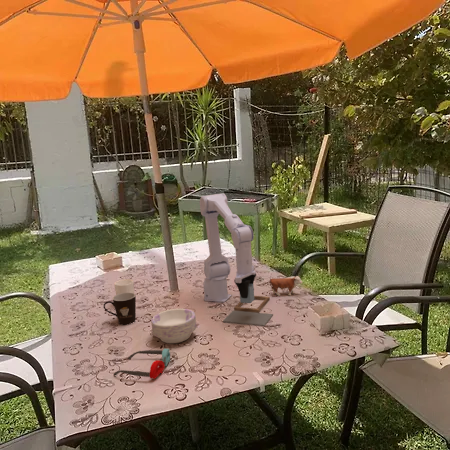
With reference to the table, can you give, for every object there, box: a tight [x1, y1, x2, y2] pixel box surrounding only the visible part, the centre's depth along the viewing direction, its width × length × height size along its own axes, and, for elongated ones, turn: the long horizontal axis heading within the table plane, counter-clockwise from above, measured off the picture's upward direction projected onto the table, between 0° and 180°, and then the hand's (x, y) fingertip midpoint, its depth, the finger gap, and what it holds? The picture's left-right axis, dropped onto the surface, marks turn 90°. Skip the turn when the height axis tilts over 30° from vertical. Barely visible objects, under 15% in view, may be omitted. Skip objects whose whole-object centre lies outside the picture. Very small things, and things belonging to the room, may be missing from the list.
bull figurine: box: [269, 275, 303, 297], centre depth 194 cm, size 4×13×8 cm, turn 78°
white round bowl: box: [150, 308, 198, 344], centre depth 162 cm, size 15×15×8 cm
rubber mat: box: [222, 310, 274, 327], centre depth 174 cm, size 16×10×1 cm, turn 67°
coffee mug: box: [102, 292, 137, 326], centre depth 179 cm, size 12×9×10 cm
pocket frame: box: [233, 295, 271, 313], centre depth 186 cm, size 10×14×1 cm
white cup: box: [113, 278, 135, 295], centre depth 196 cm, size 8×8×10 cm
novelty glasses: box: [112, 348, 171, 379], centre depth 142 cm, size 14×15×5 cm
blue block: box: [239, 283, 255, 304], centre depth 172 cm, size 4×4×6 cm
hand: (246, 295), depth 172 cm, fingers closed on blue block, 4 cm apart
